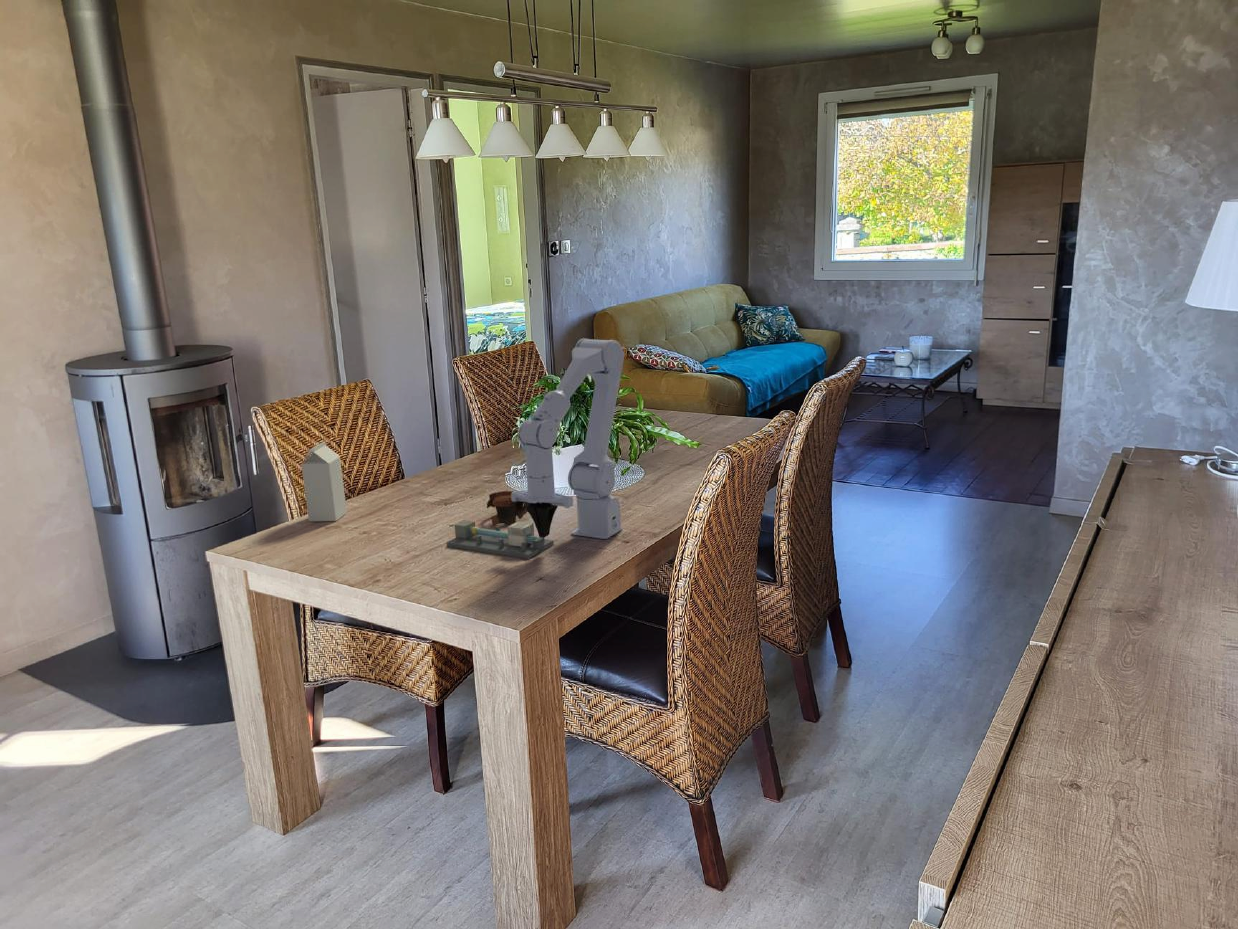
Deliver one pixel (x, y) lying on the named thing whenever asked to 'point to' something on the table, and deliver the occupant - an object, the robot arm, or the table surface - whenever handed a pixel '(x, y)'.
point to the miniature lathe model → (495, 541)
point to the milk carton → (323, 484)
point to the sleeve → (519, 532)
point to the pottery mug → (506, 508)
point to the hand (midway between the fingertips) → (544, 535)
